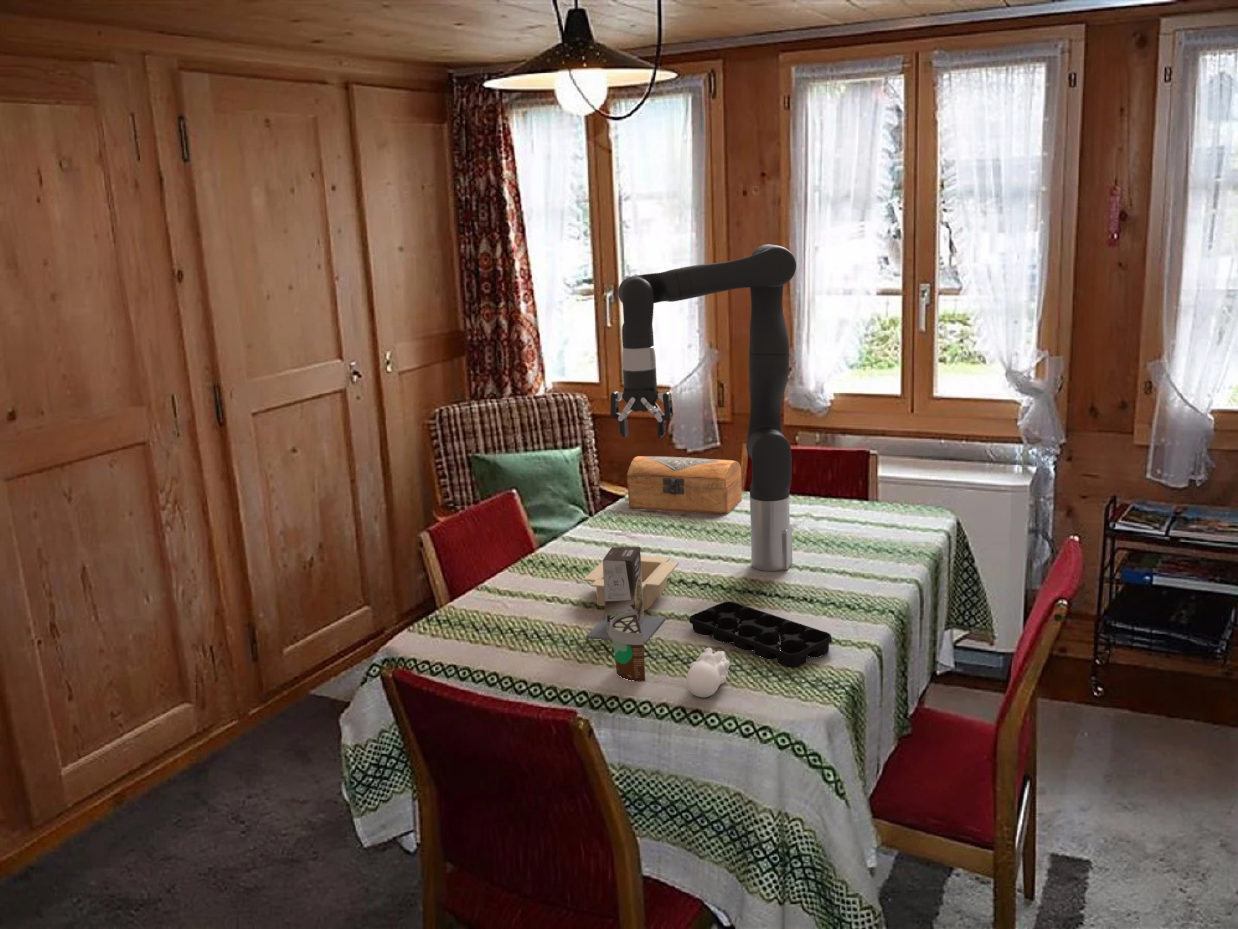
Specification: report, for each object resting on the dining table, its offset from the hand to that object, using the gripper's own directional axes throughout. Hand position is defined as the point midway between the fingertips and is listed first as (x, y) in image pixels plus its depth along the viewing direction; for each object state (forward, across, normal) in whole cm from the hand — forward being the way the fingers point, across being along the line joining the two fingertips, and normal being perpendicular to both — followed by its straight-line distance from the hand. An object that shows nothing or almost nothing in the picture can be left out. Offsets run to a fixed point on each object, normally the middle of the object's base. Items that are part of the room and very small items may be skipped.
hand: (642, 436), depth 246 cm
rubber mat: (+34, -5, +30) cm, 46 cm away
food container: (+34, -12, +50) cm, 62 cm away
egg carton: (+35, -33, +30) cm, 57 cm away
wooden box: (+35, +9, -60) cm, 69 cm away
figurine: (+34, -29, +53) cm, 70 cm away
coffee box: (+34, -5, +30) cm, 46 cm away
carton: (+34, 0, +12) cm, 36 cm away
